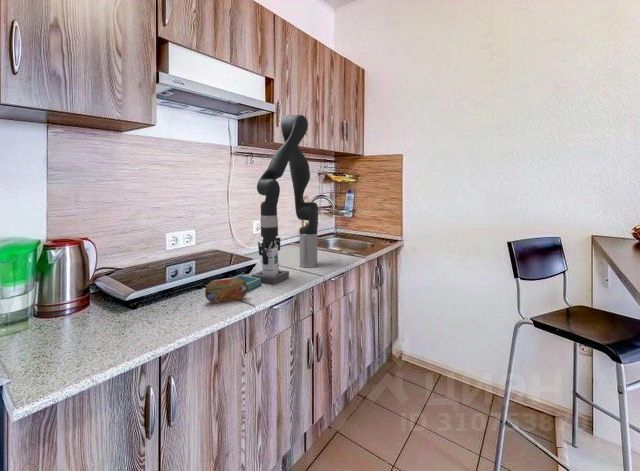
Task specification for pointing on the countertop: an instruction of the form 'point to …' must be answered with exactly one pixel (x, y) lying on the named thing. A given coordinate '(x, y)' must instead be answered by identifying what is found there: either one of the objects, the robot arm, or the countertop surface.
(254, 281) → the parts tray
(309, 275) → the countertop surface
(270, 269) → the syrup box
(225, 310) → the countertop surface
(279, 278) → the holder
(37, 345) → the countertop surface
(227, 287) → the tin
